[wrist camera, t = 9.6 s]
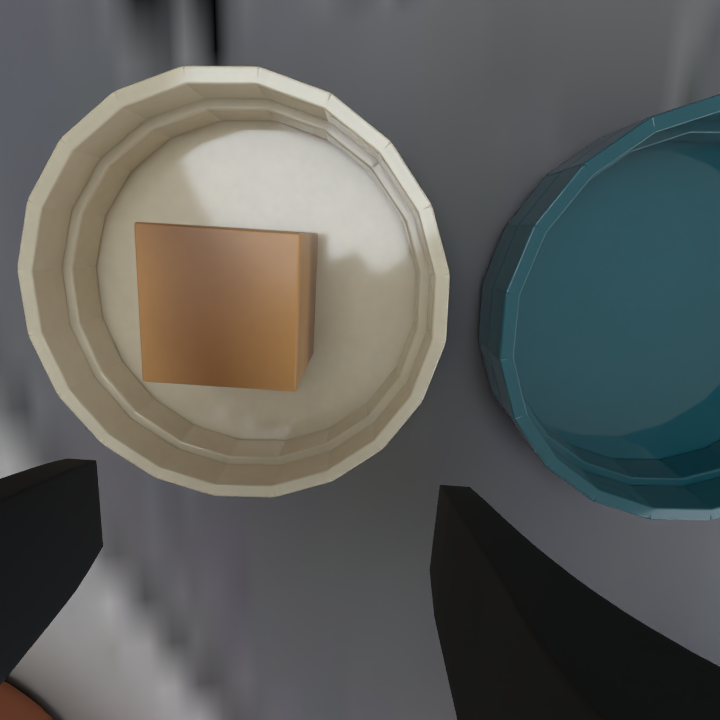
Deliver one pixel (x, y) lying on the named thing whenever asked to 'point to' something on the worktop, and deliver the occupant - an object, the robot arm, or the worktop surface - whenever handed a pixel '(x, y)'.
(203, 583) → the worktop surface
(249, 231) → the block
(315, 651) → the worktop surface
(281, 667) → the worktop surface
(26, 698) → the potted cactus
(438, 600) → the robot arm
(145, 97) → the cream bowl
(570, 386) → the teal bowl
